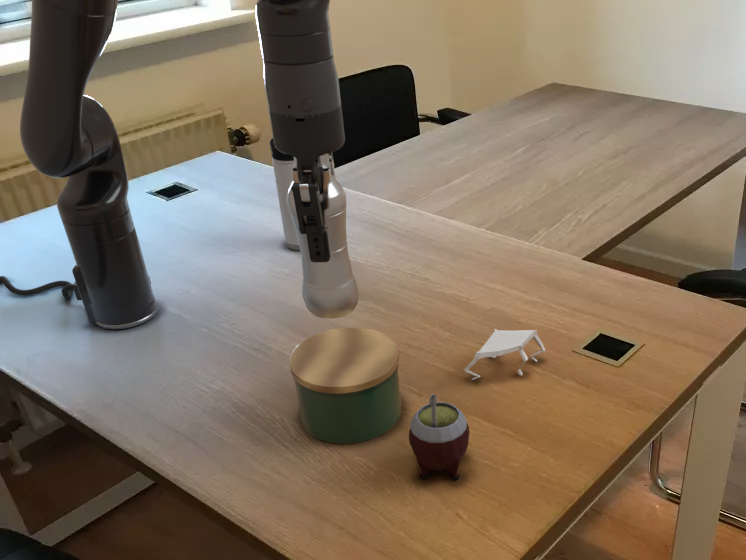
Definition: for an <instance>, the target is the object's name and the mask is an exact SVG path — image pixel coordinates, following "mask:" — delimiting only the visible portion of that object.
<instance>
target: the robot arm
mask: <svg viewBox="0 0 746 560" xmlns="http://www.w3.org/2000/svg"><path fill="white" fill-rule="evenodd" d="M118 2H119V0H31V20H30V22H31V23H30V35H29V36H30V37H29V57H28V68H27V75H26V77H27V78H26V83H25V89H24V96H23V101H22V107H21V113H20V119H19V121H20V122H19V136H20V142H21V147H22V149H23V152H24V154H25V156H26V158H27V159H28V161H29V162H30V163H31V165H32V166H33V167H34V168H35V169H36V170H37V171H38V172H39V173H41V174H43V175H45V176H46V177H50V178H54V179H63V178H67V180H66V182H65V184H64V186H63V188H62V190H61V191H60V192H59V194H58V195H57V198H56V207H57V211H58V214H59V218H60V220H61V223H62V227H63V229H64V232H65V235H66V238H67V241H68V244H69V246H70V250H71V253H72V256H73V259H74V262H75V265H74V266H73V268H72V271H71V273H72V275H73V277H74V278H73V279H74V282H73V283H72V282H69V281H67V280H56V281H52V282H48V283H45V284H43V285H41V286H37V287H34V288H30V289H29V288H28V289H19V288H17V287H15V286H14V285H13V284H12V283H11V282H10V280H9V279H8V278H7V276H5V275H0V284H3V286H4V287H5V288H6V289H7V290H8V291H9V292H10V293H12V294H14V295H17V296H20V297H21V296H22V297H26V296H27V297H28V296H34V295H37V294H41V293H43V292H47V291H50V290H52V289H56V288H59V287H62V289H61V294H62V296H63V298H64V299H65V300H70V299H71V297H72V295H73V293H74V295H75V298H76V300H77V301H81V303H82V305H83V308H84V311H85V314H86V317H87V320H88V323H89V326H98V327H100V328H102V329H106V330H125V329H130V328H134V327H138V326H140V325H142V324H145V323H146V322H148V321H150V320H151V319H153V318H154V317H155V316H156V315H157V314H158V311H159V308H158V307H159V306H158V303H157V301H156V298H155V295H154V291H153V288H152V282H151V278H150V276H149V274H148V270H147V266H146V262H145V259H144V255H143V251H142V248H141V244H140V240H139V236H138V234H137V231H136V227H135V222H134V220H133V215H132V213H131V208H130V204H129V201H128V194H129V189H130V188H129V187H130V185H129V184H130V183H129V177H128V173H127V169H126V165H125V159H124V155H123V149H122V145H121V142H120V136H119V133H118V131H117V127H116V126H115V124H114V121H113V119H112V117H111V115H110V114H109V112H108V111H107V110H106V109H105V107H104V106H103V105H102V104H101V103H100V102H99V101H97V100H96V99H94V98H93V97H91V96H88V95H85V92H86V88H87V85H88V81H89V80H90V77H91V74H92V72H93V70H94V69H95V67H96V65H97V63H98V61H99V59H100V57H101V55H102V53H103V51H104V50H105V47H106V45H107V43H108V41H109V39H110V37H111V34H112V31H113V29H114V25H115V23H116V22H115V21H116V18H117V12H118ZM330 2H331V0H257V1H256V2H255V3H256V4H255V20H256V26H257V31H258V38H259V44H260V50H261V55H262V65H263V84H264V85H263V86H264V90H265V91H264V92H265V97H266V103H267V109H268V116H269V122H270V127H271V128H270V129H271V134H272V138H273V141H274V145H275V147H276V149H277V150H278V151H280V152H281V153H284V154H289V155H292V156H293V157H295V158H296V160H297V168H293V181H294V183H292V187H291V190H292V191H293V197H294V202H295V207H296V213H297V218H298V223H299V231H300V233H301V234H306V235H307V242H308V249H309V255H310V260H311V261H312V262H315V263H316V262H328V261H329V260H330V248H329V241H328V233H327V229H328V224H327V216H326V210H328V209H329V208H330V199H329V184H330V183H331V174H332V176H333V177H334V178H335V179H336V173H335V163H334V162H335V161H334V155H333V153H334V152H336V151H339V150H340V149H341V148H342V147H343V146H344V145H345V143H346V135H345V125H344V116H343V108H342V98H341V90H340V80H339V76H338V75H339V74H338V70H337V66H336V63H335V57H334V49H333V39H332V31H331V24H330V23H331V22H330V16H329V15H330V14H329V13H330V12H329V11H330ZM324 153H326V154H329V161H330V164H331V168H330V167H323V168H322V167H321V161H320V155H323V154H324ZM322 193H323V195H324V199H323V201H322V202H320V198H319V195H321V194H322ZM308 216H315V217H316V219H317V221H309V218H308Z"/></svg>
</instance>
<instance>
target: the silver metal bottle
mask: <svg viewBox="0 0 746 560" xmlns="http://www.w3.org/2000/svg"><path fill="white" fill-rule="evenodd" d="M320 161H321V167H322V168H323V167H330V168H331V164H330V161H329V154H326V153H324V154H323V155H320ZM294 162H295V164H294V168H297V160H296V158H295V157H294ZM292 183H294V181H293V182H292ZM291 187H292V184H291V186H290V188H289V190H288V194H287V203H288V207H289V210H290V214H291V217H292V220H293V223H294V226H295V229H296V232H297V237H298V242H299V244H300V250H299V251H300V255H301V268H302V269H301V270H302V284H301V293H302V299H303V302H304V305H305V307H306V309H307V310H308V311H309V312H310V313H311V314H312V315H313V316H315V317H317V318H320V319H326V320H327V319H329V320H330V319H331V320H332V319H339V318H343V317H346V316H348V315H350V314H351V313H353V312H354V311H355V309H356V307H357V305H358V303H359V293H360V292H359V287H358V284H357V283H358V282H357V279H356V278H355V274H354V272H353V269H352V263H351V257H350V254H349V249H348V241H347V239H348V236H347V195H346V193H345V190H344V188H343V186H342V184H341V183H340V182H339V181H338V179H336V177H335V178H334V177H333V176H332V174H331V183H330V184H329V199H330V208H329V209H328V210H326V216H327V224H328V229H327V233H328V241H329V248H330V260H329V261H328V262H316V263H315V262H312V261H311V260H310V255H309V249H308V242H307V235H306V234H301V233H300V231H299V223H298V218H297V213H296V207H295V202H294V197H293V191H292V190H291ZM319 198H320V202H322V201H323V199H324V195H323V193H322V194H321V195H319ZM308 218H309V221H317V219H316V217H315V216H308Z"/></svg>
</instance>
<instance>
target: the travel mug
mask: <svg viewBox="0 0 746 560" xmlns="http://www.w3.org/2000/svg"><path fill="white" fill-rule="evenodd" d="M269 146H270V148H269V149H270V153H271V160H272V161H271V162H272V168H273V175H274V179H275V186H276V192H277V198H278V205H279V210H280V211H279V212H280V217H281V224H282V229H283V236H284V242H285V246H286V247H287V248H288V249H290V250H293V251H301V250H300V244H299V242H298V237H297V232H296V229H295V226H294V223H293V220H292V217H291V214H290V210H289V207H288V203H287V194H288V190H289V188H290V186H291V184H292V182H293V168H294V164H295V162H294V157H293V156H292V155H289V154H284V153H281V152H280V151H278V150H277V149H276V147H275V145H274V141H273V137H271V139H270V140H269Z"/></svg>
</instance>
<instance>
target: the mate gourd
mask: <svg viewBox="0 0 746 560" xmlns="http://www.w3.org/2000/svg"><path fill="white" fill-rule="evenodd" d="M428 401H429V403H427V404H425V405H423V406H421V407H420V408H419V409H418V410H417V411H416V413H414V414H413V416H412V418H411V420H410V425H409V431H408V441H409V445H410V447H411V449H412V452H413V455H414V457H415V459H416V464H417V466H418V468H419V471H420V473H419V474H418V477H419V479H420V480H421V481H425V480H427V479H428V478H430V477H432V476H434V475H435V474H438V473H439V472H442V473H443V474H444V475H446V476H447V477H449V478H450V479H451V480H452V481H454V482H457V481H458V480H460V477H461V475H459V474H458V470H459V467H460V462H461V460H462V459H463V457H464V456H465V454H466V452H467V449H468V447H469V440H470V427H469V424H468V420H467V418H466V416H465V414H464V413H463V411H462V410H461V409H459V408H458V407H457V406H455V405H454V404H451V403H447V402H445V401H444V402H443V401H438V397H437V394H435V393H432V394H430V397H429V400H428Z"/></svg>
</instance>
